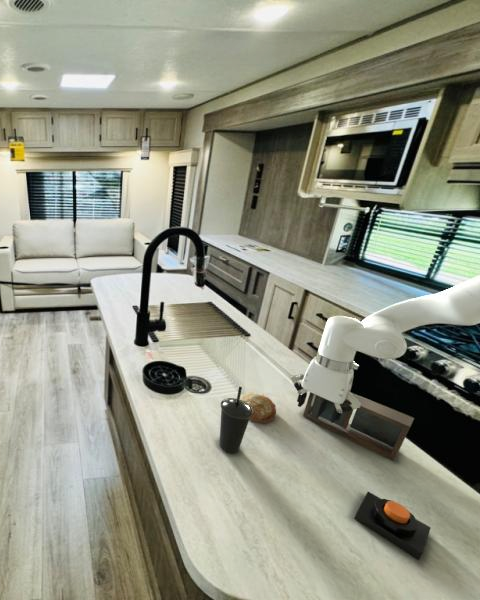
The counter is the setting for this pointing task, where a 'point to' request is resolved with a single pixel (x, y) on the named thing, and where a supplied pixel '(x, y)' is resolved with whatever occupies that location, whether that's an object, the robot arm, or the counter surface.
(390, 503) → the button
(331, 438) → the counter surface
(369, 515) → the control block
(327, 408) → the window sash
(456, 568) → the counter surface
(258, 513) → the counter surface
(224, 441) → the drinking cup
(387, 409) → the window frame
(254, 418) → the bread roll
